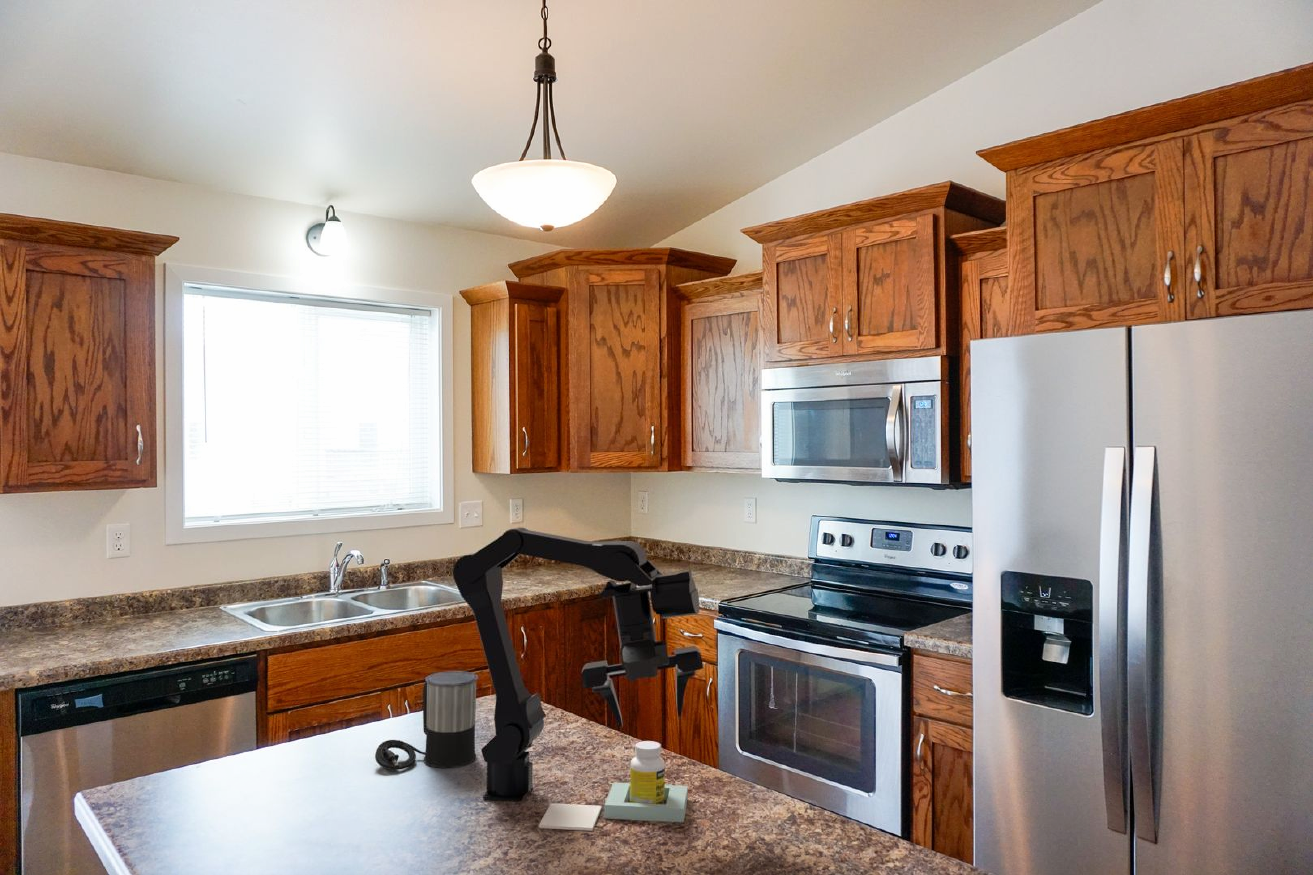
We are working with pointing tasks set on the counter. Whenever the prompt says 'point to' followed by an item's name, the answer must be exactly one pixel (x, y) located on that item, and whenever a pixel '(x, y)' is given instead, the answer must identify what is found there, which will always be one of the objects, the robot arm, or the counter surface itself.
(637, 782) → the supplement bottle
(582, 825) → the white square tile
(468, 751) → the milk frother
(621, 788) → the holder block
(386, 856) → the counter surface
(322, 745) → the counter surface
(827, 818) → the counter surface
